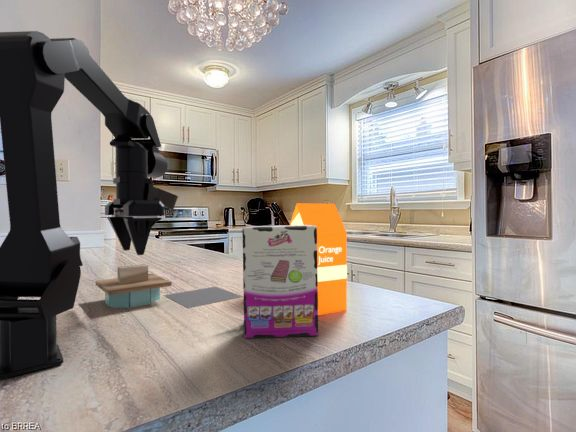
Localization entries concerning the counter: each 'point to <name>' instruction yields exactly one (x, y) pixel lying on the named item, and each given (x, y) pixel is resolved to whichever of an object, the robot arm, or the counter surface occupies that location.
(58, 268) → the robot arm
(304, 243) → the candy bar box
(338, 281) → the orange juice
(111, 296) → the bowl
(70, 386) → the counter surface
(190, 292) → the mat
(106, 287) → the lid
